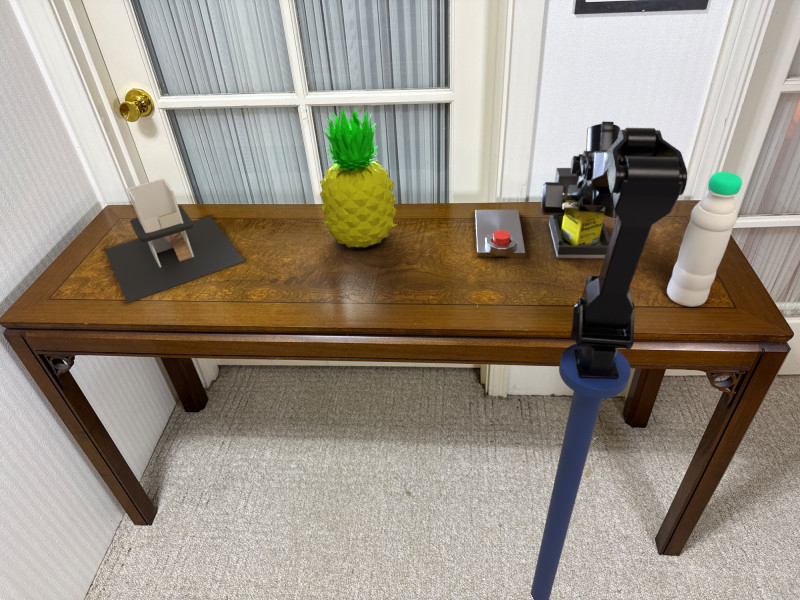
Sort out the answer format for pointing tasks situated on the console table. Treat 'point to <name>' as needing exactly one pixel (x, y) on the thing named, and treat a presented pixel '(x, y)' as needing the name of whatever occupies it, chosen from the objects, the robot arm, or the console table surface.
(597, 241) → the supplement box
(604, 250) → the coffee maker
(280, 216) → the console table surface
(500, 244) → the button
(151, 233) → the beige and grey stand
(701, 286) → the water bottle
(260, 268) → the console table surface
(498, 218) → the button block
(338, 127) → the pineapple
